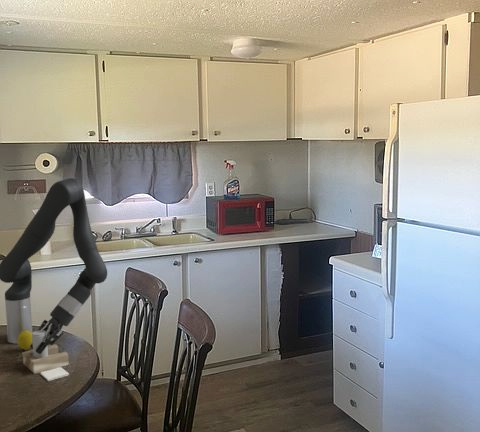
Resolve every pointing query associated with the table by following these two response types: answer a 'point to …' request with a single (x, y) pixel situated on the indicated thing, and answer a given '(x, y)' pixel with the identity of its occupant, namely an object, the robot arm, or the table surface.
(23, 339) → the lemon
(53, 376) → the tile
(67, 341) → the table surface
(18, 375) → the table surface
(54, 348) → the lane rack
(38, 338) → the beverage can
